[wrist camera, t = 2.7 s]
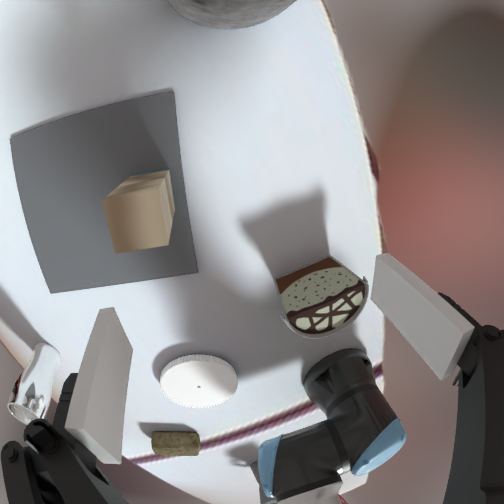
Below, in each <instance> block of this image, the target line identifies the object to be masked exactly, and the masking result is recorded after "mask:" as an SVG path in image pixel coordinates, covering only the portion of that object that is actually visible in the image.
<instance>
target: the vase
mask: <svg viewBox="0 0 504 504" xmlns="http://www.w3.org/2000/svg"><path fill="white" fill-rule="evenodd" d="M167 1H168V2H169V4H170V5H171V6H172V7H173V8H174V9H175V10H176V11H177V12H178V13H179V14H181V15H182V16H183V17H185V18H187V19H188V20H190V21H192V22H195V23H197V24H200V25H203V26H207V27H211V28H218V29H239V28H246V27H250V26H254V25H257V24H260V23H263V22H265V21H267V20H269V19H271V18H273V17H275V16H277V15H278V14H280V13H281V12H282V11H284V10H285V9H287V8H288V7H289V6H290V5H292V4H293V3H294V2H295V1H296V0H167Z"/></svg>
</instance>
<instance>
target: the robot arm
mask: <svg viewBox="0 0 504 504" xmlns="http://www.w3.org/2000/svg"><path fill="white" fill-rule="evenodd" d="M371 300H372V301H373V302H374V303H375V304H376V305H377V306H378V308H379V309H380V310H381V311H382V312H383V313H384V314H385V315H386V317H387V318H388V319H389V320H390V321H391V322H392V323H393V324H394V326H395V327H396V328H397V329H398V330H399V331H400V332H401V333H402V335H403V336H404V337H405V338H406V339H407V341H408V342H409V343H410V344H411V345H412V346H413V348H414V349H415V350H416V351H417V352H418V354H419V355H420V356H421V357H422V358H423V360H424V361H425V362H426V363H427V364H428V366H429V367H430V368H431V369H432V370H433V372H434V373H435V374H436V375H437V377H438V378H439V379H440V380H443V379H444V378H446V377H448V376H449V375H451V374H452V373H453V371H454V370H455V368H456V366H457V364H458V365H459V367H460V368H461V369H460V371H459V373H458V375H457V376H456V378H455V380H454V382H453V385H455V384H456V382H457V381H458V379H459V384H458V386H459V390H458V413H457V425H456V435H455V444H454V451H453V458H452V464H451V470H450V475H449V480H448V484H447V489H446V493H445V498H444V502H443V504H504V330H499V329H498V328H496V327H494V326H491V325H485V326H481V325H480V324H479V323H478V322H476V320H474V319H473V318H472V317H471V316H470V315H469V314H468V313H467V312H465V311H464V310H463V309H461V307H460V306H459V305H457V304H456V303H455V302H454V301H453V300H452V299H451V298H450V297H448V296H446V295H444V294H442V293H440V292H439V293H436V292H435V291H434V290H432V289H431V288H430V287H429V286H428V285H427V284H426V283H424V282H423V281H422V280H421V279H420V278H418V277H417V276H416V275H415V274H414V273H412V272H411V271H410V270H409V269H407V268H406V267H405V266H404V265H402V264H401V263H400V262H398V261H397V260H396V259H395V258H394V257H392V256H391V255H390V254H388V253H385V254H381V255H377V256H376V262H375V271H374V279H373V287H372V294H371ZM132 352H133V348H132V346H131V344H130V342H129V340H128V338H127V336H126V334H125V331H124V329H123V327H122V325H121V323H120V320H119V318H118V316H117V314H116V311H115V309H114V307H111V308H105V309H100V310H99V313H98V316H97V318H96V321H95V324H94V327H93V329H92V332H91V335H90V338H89V341H88V344H87V347H86V350H85V353H84V356H83V360H82V363H81V366H80V369H79V373H71V374H70V375H69V377H68V378H67V379H66V381H65V382H64V385H63V388H62V392H61V393H62V394H61V395H60V398H59V402H58V406H57V410H56V413H55V417H54V421H53V425H51V424H50V423H49V422H48V421H47V420H45V419H42V418H37V419H35V420H32V421H31V422H30V423H29V424H28V425H27V426H26V429H25V430H24V441H25V442H26V443H27V444H28V445H29V446H28V447H23V446H22V445H21V444H19V443H18V442H16V441H10V442H8V443H6V444H5V445H4V447H3V449H2V451H1V463H2V470H3V476H4V481H5V487H6V492H7V497H8V501H9V504H128V502H127V501H126V500H125V499H124V498H123V497H122V495H121V494H120V493H119V492H118V491H117V490H116V489H115V487H114V486H113V485H112V483H111V482H110V481H109V480H108V478H107V477H106V476H105V475H104V473H103V472H102V471H101V469H100V468H99V467H98V466H97V465H96V458H98V459H99V460H100V461H102V462H103V463H109V464H121V454H122V438H123V425H124V414H125V404H126V395H127V387H128V379H129V372H130V365H131V359H132ZM304 388H305V391H306V393H307V395H308V397H309V398H310V400H311V401H312V402H314V403H315V404H316V405H317V406H318V407H319V408H320V409H321V410H322V411H323V412H324V413H325V414H326V416H327V418H328V419H327V420H325V421H322V422H319V423H317V424H314V425H311V426H309V427H306V428H303V429H300V430H297V431H294V432H291V433H288V434H282V435H280V436H278V437H275V438H273V439H270V440H267V441H264V442H263V443H262V444H261V445H260V447H259V450H258V468H259V474H260V480H261V483H262V486H263V490H264V493H265V495H266V496H267V497H271V498H274V497H276V500H277V503H278V504H342V503H341V501H340V498H339V496H338V492H339V490H340V488H341V486H342V484H343V482H342V479H341V477H340V475H342V474H344V473H346V472H349V471H351V473H352V474H354V475H355V476H360V475H362V474H366V473H368V472H370V471H372V470H374V469H375V468H377V467H378V466H380V465H381V464H383V463H384V462H385V461H387V460H388V459H390V458H391V457H392V456H393V455H394V454H395V453H396V452H397V451H398V450H399V449H400V448H401V447H402V446H403V444H404V442H405V440H406V432H405V430H404V428H403V426H402V424H401V422H400V419H399V418H398V417H397V415H396V414H395V412H394V411H393V409H392V408H391V406H390V405H389V403H388V402H387V401H386V399H385V397H384V396H383V394H382V393H381V391H380V390H379V388H378V387H377V385H376V382H375V377H374V373H373V368H372V364H371V361H370V359H369V358H368V357H367V355H366V354H365V353H364V352H363V351H361V350H359V349H346V350H342V351H339V352H336V353H334V354H331V355H329V356H328V357H326V358H324V359H323V360H321V361H320V362H319V363H317V364H316V365H315V366H314V367H313V368H312V369H311V370H310V372H309V373H308V374H307V376H306V378H305V381H304Z"/></svg>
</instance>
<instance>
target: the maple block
mask: <svg viewBox="0 0 504 504" xmlns="http://www.w3.org/2000/svg"><path fill="white" fill-rule="evenodd" d="M102 201H103V205H104V210H105V214H106V219H107V223H108V227H109V231H110V235H111V239H112V243H113V247H114V251H115V254H117V253H123V252H129V251H135V250H141V249H148V248H154V247H160V246H167V245H168V244H169V238H170V233H171V228H172V222H173V217H174V212H175V203H174V196H173V190H172V183H171V176H170V169H167V170H161V171H155V172H150V173H144V174H139V175H134V176H130V177H129V178H128V179H126V180H125V181H124V182H123V183H121V184H120V185H119V186H118V187H117V188H116V189H114V190H113V191H112V192H111V193H110V194H108V195H107V196H106V197H105V198H104V199H103V200H102Z"/></svg>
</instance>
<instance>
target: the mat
mask: <svg viewBox="0 0 504 504" xmlns="http://www.w3.org/2000/svg"><path fill="white" fill-rule="evenodd" d="M10 144H11V152H12V159H13V165H14V171H15V176H16V182H17V187H18V191H19V196H20V200H21V205H22V209H23V213H24V216H25V220H26V224H27V227H28V231H29V234H30V238H31V241H32V244H33V247H34V250H35V253H36V256H37V259H38V262H39V265H40V268H41V270H42V273H43V276H44V278H45V281H46V283H47V286H48V288H49V291H50V293H51V294H52V293H59V292H67V291H74V290H81V289H89V288H96V287H103V286H110V285H118V284H125V283H132V282H139V281H146V280H152V279H159V278H166V277H173V276H180V275H186V274H193V273H198V269H197V264H196V258H195V252H194V246H193V240H192V234H191V228H190V221H189V215H188V208H187V201H186V194H185V187H184V179H183V172H182V164H181V155H180V147H179V138H178V128H177V119H176V108H175V97H174V92H168V93H162V94H156V95H151V96H146V97H141V98H136V99H131V100H127V101H122V102H118V103H114V104H110V105H106V106H102V107H98V108H95V109H91V110H88V111H84V112H81V113H78V114H74V115H71V116H68V117H65V118H62V119H59V120H56V121H54V122H51V123H48V124H45V125H43V126H40V127H37V128H35V129H32V130H30V131H27V132H25V133H23V134H20V135H18V136H16V137H13V138H11V139H10ZM167 169H170V176H171V183H172V190H173V196H174V203H175V212H174V217H173V222H172V228H171V233H170V238H169V244H168V245H167V246H160V247H154V248H148V249H141V250H135V251H129V252H123V253H117V254H115V251H114V247H113V243H112V239H111V235H110V231H109V227H108V223H107V219H106V214H105V210H104V205H103V201H102V200H103V199H104V198H105V197H106V196H107V195H108V194H110V193H111V192H112V191H113V190H114V189H116V188H117V187H118V186H119V185H120V184H121V183H123V182H124V181H125V180H126V179H128V178H129V177H130V176H134V175H139V174H144V173H150V172H155V171H161V170H167Z"/></svg>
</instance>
